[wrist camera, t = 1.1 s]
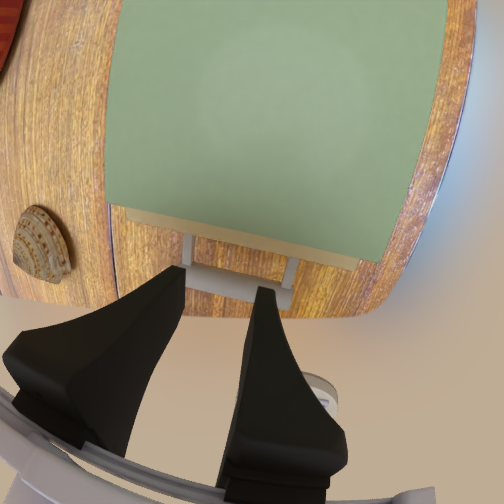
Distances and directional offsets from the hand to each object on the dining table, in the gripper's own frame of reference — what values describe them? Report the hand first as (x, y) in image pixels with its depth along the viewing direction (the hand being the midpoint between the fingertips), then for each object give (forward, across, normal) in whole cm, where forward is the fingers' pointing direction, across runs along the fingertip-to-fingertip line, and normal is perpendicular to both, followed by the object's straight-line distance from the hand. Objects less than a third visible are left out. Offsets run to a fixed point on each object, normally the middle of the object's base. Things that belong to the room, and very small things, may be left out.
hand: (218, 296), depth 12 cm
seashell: (+11, +21, +8) cm, 25 cm away
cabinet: (+10, 0, -9) cm, 14 cm away
